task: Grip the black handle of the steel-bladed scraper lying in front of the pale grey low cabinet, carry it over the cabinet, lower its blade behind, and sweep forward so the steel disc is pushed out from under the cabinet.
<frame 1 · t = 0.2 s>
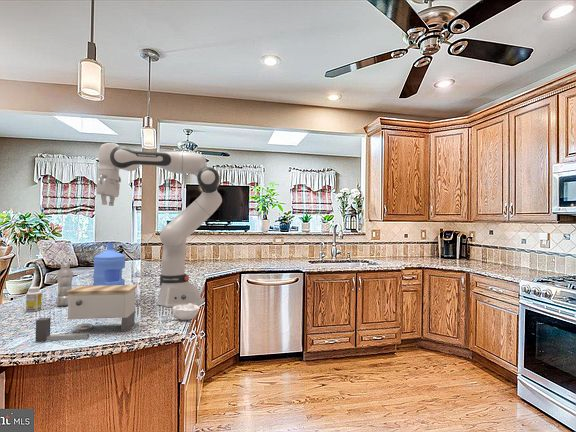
hand: (108, 205, 167), 48 cm above the countertop, fingers open, 8 cm apart
water jug: (109, 293, 192), on the countertop
supplement bottle: (33, 311, 154), on the countertop
steel token: (83, 329, 129), on the countertop
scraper: (42, 339, 116), on the countertop
plastic bottle: (64, 306, 163), on the countertop
bowl of rice: (185, 319, 143), on the countertop
low cabinet: (102, 328, 130), on the countertop
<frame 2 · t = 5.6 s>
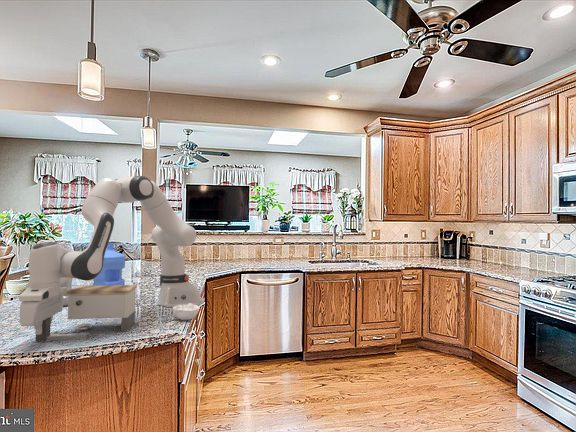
hand: (43, 331, 116), 3 cm above the countertop, fingers closed on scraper, 3 cm apart
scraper: (42, 339, 116), on the countertop, touching gripper
everything else where it was.
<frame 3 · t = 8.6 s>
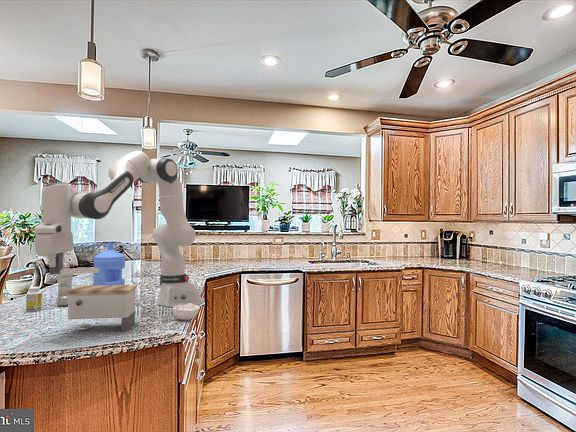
hand: (56, 266, 124), 24 cm above the countertop, fingers closed on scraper, 3 cm apart
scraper: (56, 273, 124), point 21 cm above the countertop, touching gripper
everything else where it was.
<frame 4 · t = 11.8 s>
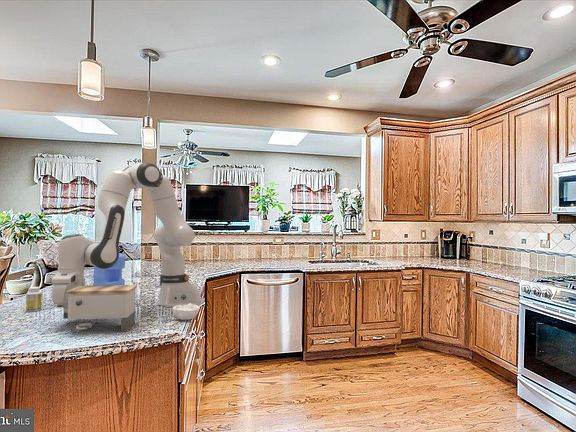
hand: (69, 310, 136), 5 cm above the countertop, fingers closed on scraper, 3 cm apart
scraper: (69, 317, 136), point 2 cm above the countertop, touching gripper
everything else where it was.
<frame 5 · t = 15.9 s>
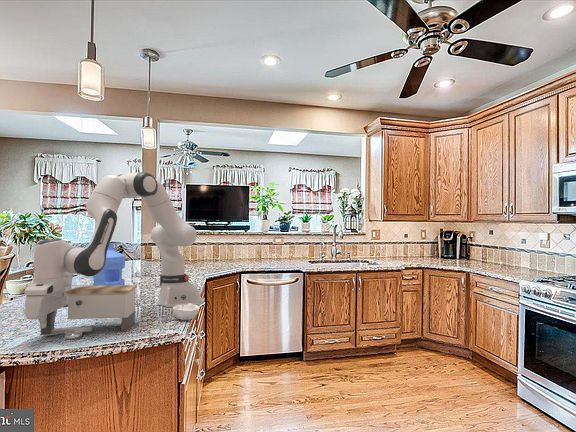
hand: (47, 325, 120), 4 cm above the countertop, fingers closed on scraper, 3 cm apart
steel token: (73, 338, 118), on the countertop
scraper: (47, 333, 120), point 1 cm above the countertop, touching gripper
everything else where it was.
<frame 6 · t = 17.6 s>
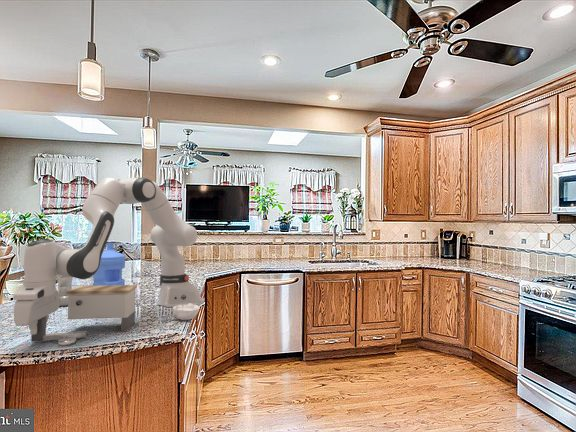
hand: (38, 331, 114), 4 cm above the countertop, fingers closed on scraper, 3 cm apart
steel token: (67, 344, 113), on the countertop, touching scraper
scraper: (38, 339, 114), point 1 cm above the countertop, touching gripper, steel token
everything else where it was.
when the fingers open (4 cm above the countertop, at t = 18.0 s): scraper stays where it is, on the countertop.
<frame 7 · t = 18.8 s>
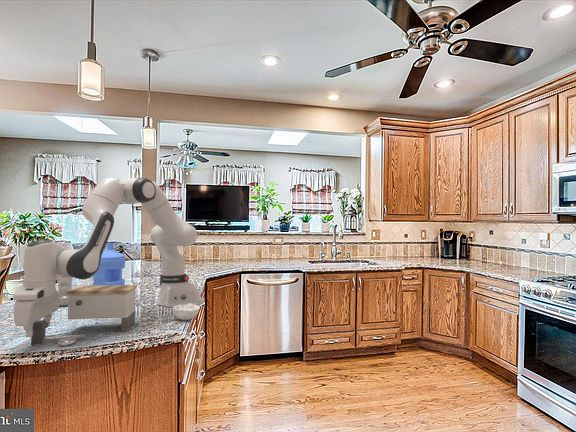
hand: (38, 331, 113), 4 cm above the countertop, fingers open, 8 cm apart
steel token: (67, 344, 113), on the countertop
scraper: (38, 342, 113), on the countertop
everything else where it was.
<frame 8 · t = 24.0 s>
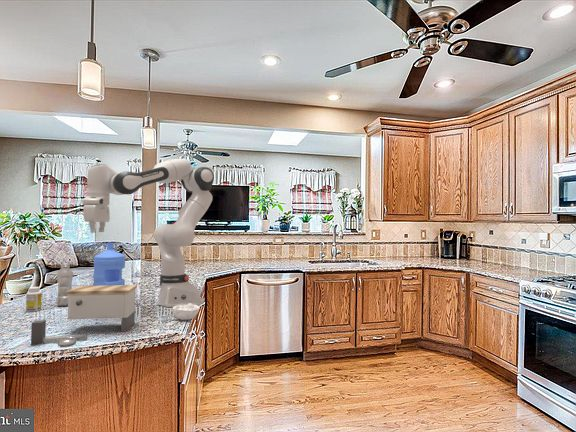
hand: (97, 232, 152), 35 cm above the countertop, fingers open, 8 cm apart
nothing on the countertop moved.
at the end: steel token inside the target area (2.1 cm from its centre), on the countertop; the gripper is holding nothing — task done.
